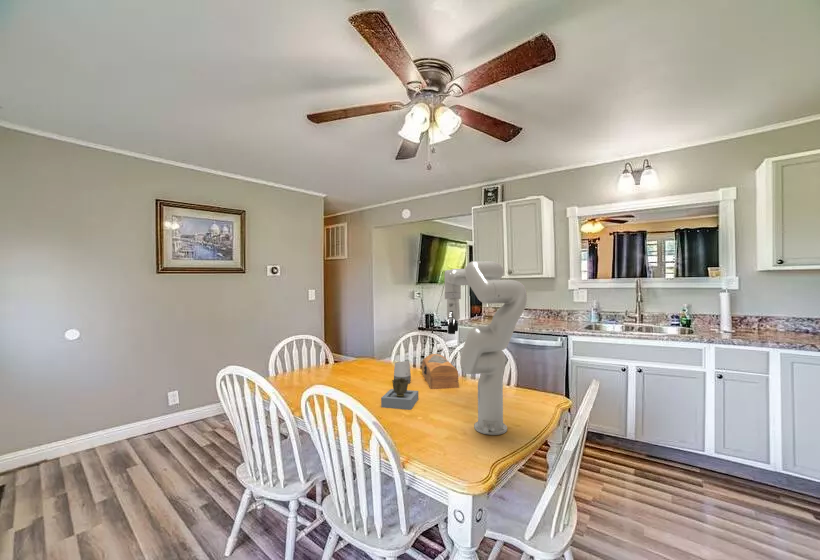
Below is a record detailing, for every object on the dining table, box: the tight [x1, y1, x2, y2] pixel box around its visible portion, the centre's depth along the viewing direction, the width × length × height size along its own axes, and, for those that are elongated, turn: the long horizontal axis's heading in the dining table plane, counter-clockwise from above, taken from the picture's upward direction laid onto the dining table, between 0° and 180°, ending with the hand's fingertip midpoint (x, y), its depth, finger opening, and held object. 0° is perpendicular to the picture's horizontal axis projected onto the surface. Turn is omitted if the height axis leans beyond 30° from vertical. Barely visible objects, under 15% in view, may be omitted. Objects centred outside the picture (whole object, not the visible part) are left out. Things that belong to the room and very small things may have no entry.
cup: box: [392, 378, 409, 398], centre depth 173 cm, size 8×7×8 cm
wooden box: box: [421, 353, 459, 390], centre depth 208 cm, size 30×16×14 cm, turn 6°
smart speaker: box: [393, 360, 412, 385], centre depth 205 cm, size 10×9×14 cm
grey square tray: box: [380, 388, 419, 411], centre depth 173 cm, size 14×14×5 cm
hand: (453, 332), depth 174 cm, fingers open, 9 cm apart
